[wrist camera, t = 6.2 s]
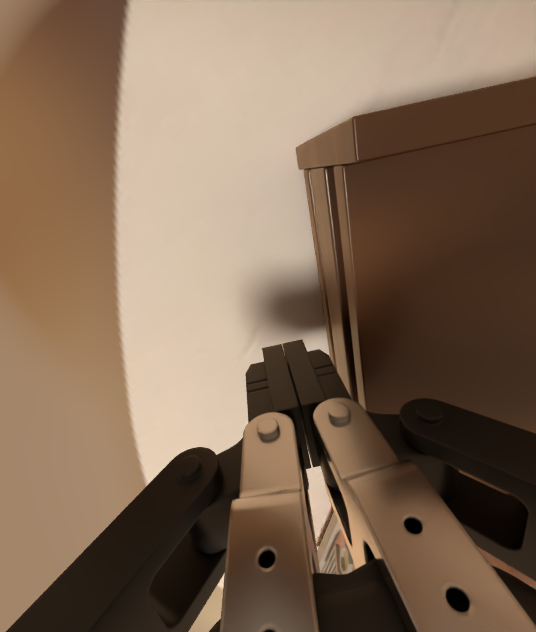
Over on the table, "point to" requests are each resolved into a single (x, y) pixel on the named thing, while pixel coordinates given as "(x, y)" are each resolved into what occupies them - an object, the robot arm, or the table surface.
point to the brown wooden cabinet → (431, 252)
